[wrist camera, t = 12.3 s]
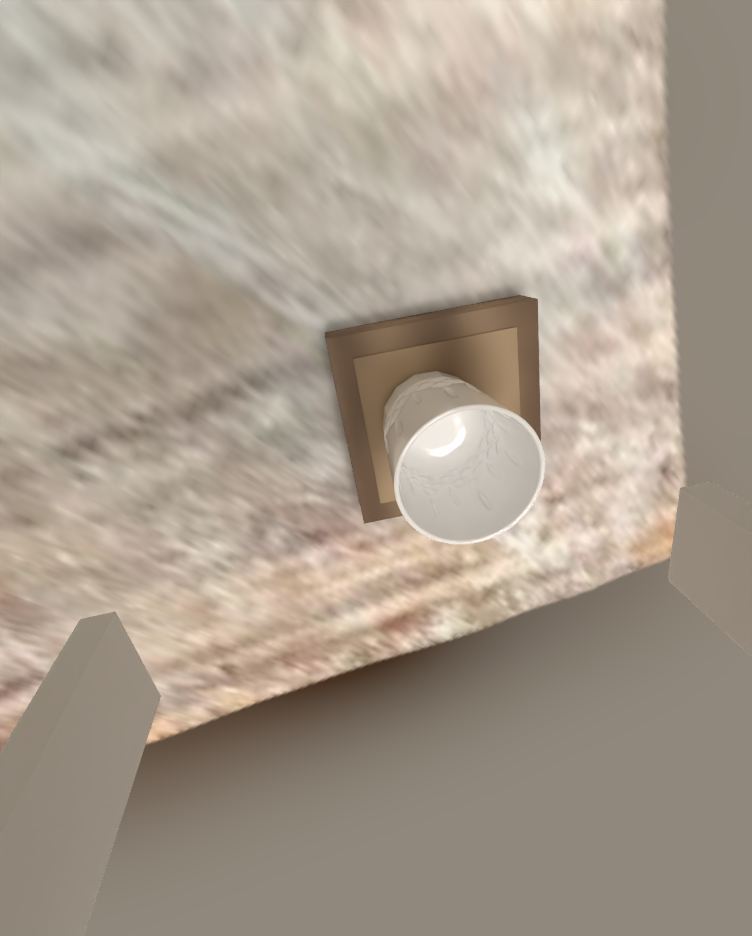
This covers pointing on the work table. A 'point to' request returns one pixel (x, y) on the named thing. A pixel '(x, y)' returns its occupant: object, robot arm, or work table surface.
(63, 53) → the work table surface
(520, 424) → the white cup
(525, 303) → the base
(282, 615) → the work table surface
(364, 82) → the work table surface
